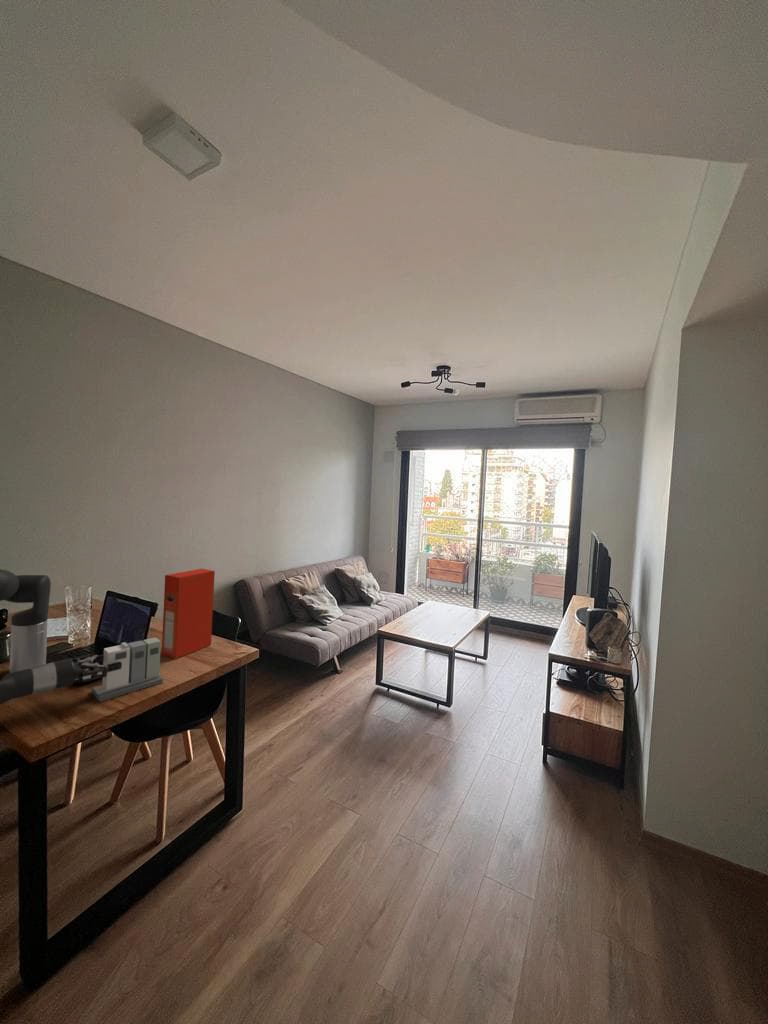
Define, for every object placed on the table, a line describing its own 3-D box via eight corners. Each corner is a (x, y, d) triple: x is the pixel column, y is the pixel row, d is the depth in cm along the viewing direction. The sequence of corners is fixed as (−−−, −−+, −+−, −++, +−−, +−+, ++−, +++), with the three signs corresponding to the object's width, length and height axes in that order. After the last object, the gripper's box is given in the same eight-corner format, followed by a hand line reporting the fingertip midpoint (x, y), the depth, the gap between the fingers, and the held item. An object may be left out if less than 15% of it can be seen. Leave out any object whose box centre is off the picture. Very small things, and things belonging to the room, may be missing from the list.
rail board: (92, 692, 126) (93, 648, 125) (153, 674, 140) (155, 635, 139) (99, 702, 121) (101, 656, 120) (162, 683, 135) (164, 642, 134)
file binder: (161, 654, 156) (165, 574, 155) (197, 640, 172) (201, 568, 170) (175, 659, 153) (179, 577, 151) (210, 645, 169) (215, 571, 167)
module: (102, 685, 126) (104, 645, 126) (123, 679, 131) (125, 641, 130) (106, 690, 123) (108, 650, 123) (128, 684, 128) (130, 645, 127)
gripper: (58, 672, 110) (125, 656, 122) (46, 655, 119) (109, 642, 131) (57, 698, 110) (124, 679, 123) (45, 679, 119) (108, 664, 132)
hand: (116, 660), depth 127 cm, fingers open, 8 cm apart
